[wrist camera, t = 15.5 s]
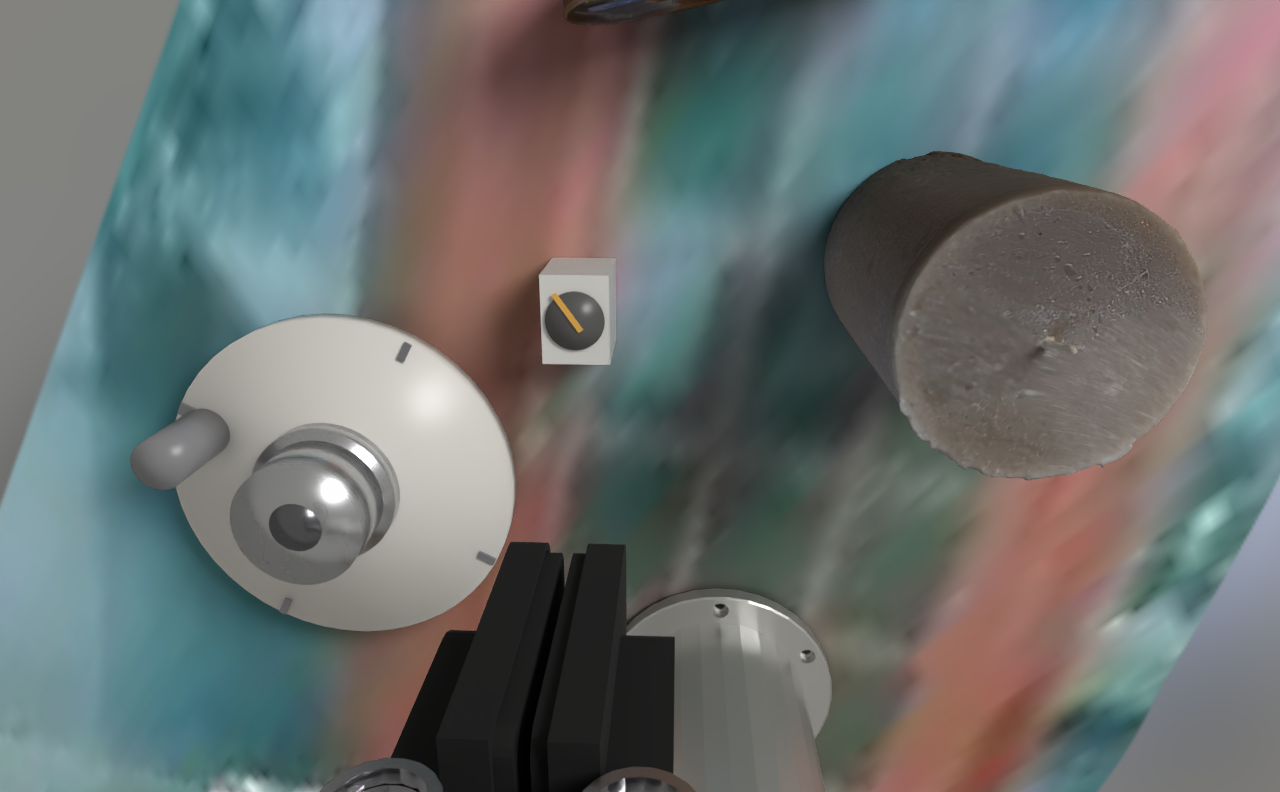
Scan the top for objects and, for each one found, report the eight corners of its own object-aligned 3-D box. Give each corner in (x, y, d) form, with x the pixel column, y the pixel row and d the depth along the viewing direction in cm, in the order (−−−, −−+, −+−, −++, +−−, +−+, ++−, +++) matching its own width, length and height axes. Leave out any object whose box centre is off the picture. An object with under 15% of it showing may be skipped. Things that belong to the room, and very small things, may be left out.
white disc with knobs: (577, 411, 42) (560, 461, 36) (439, 655, 47) (406, 733, 42) (258, 245, 40) (188, 270, 34) (153, 521, 45) (76, 583, 39)
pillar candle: (948, 104, 37) (1115, 112, 23) (1077, 266, 39) (1303, 365, 25) (778, 256, 39) (832, 347, 25) (907, 399, 41) (1024, 558, 27)
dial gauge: (616, 339, 41) (609, 366, 37) (555, 339, 41) (541, 365, 37) (615, 258, 40) (608, 276, 36) (552, 257, 40) (538, 276, 36)
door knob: (424, 469, 41) (398, 508, 37) (363, 573, 43) (332, 619, 39) (294, 396, 40) (254, 428, 36) (238, 505, 42) (195, 546, 38)
